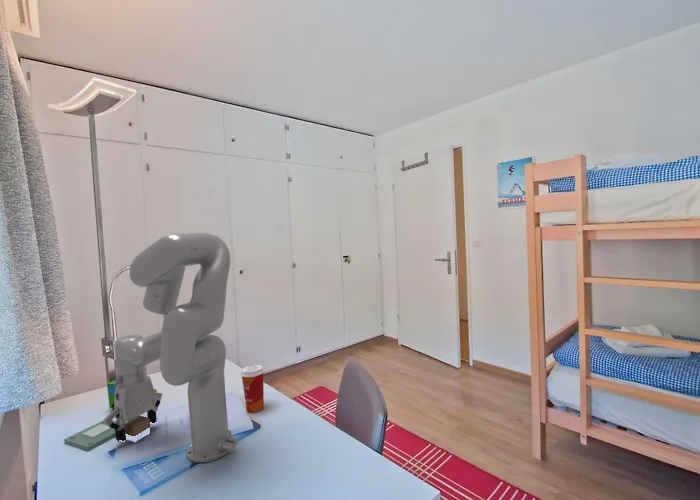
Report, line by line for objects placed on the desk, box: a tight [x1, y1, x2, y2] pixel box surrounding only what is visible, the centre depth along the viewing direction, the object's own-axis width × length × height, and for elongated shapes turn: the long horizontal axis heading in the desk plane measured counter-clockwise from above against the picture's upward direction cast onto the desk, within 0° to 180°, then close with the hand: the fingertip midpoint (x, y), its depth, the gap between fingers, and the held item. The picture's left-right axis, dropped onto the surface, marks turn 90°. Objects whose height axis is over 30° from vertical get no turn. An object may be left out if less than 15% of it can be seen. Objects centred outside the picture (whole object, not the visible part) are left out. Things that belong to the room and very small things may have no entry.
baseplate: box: [63, 419, 116, 452], centre depth 107 cm, size 12×12×2 cm
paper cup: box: [240, 364, 265, 414], centre depth 118 cm, size 8×8×14 cm
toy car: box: [106, 380, 158, 411], centre depth 126 cm, size 10×13×10 cm
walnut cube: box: [123, 415, 151, 436], centre depth 105 cm, size 5×5×5 cm
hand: (137, 432), depth 105 cm, fingers open, 9 cm apart
